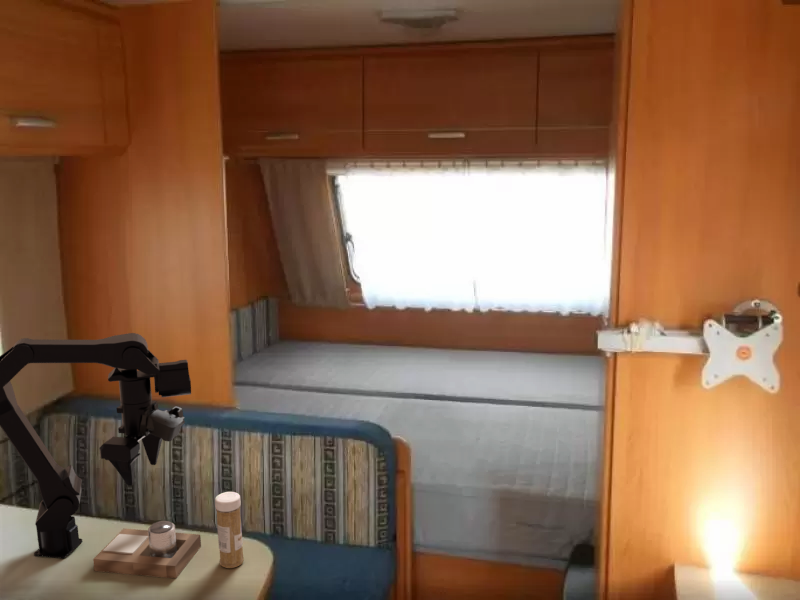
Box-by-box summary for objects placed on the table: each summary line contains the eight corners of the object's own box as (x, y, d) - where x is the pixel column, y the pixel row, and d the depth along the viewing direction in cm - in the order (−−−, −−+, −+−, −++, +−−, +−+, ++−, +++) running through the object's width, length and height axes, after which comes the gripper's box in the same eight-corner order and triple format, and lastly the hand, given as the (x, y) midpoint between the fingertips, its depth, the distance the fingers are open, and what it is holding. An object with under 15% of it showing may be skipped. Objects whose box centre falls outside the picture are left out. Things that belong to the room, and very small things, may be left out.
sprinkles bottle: (247, 564, 142) (244, 498, 139) (224, 572, 140) (220, 504, 137) (238, 553, 146) (234, 488, 143) (215, 560, 144) (211, 494, 141)
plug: (146, 565, 142) (143, 531, 141) (158, 551, 147) (155, 518, 145) (170, 567, 141) (167, 533, 140) (181, 553, 146) (179, 520, 144)
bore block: (94, 571, 140) (92, 557, 140) (124, 539, 151) (123, 527, 150) (176, 578, 138) (175, 564, 137) (201, 546, 149) (200, 533, 148)
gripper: (151, 420, 137) (157, 500, 140) (196, 386, 154) (200, 457, 158) (94, 416, 138) (101, 495, 142) (145, 383, 156) (150, 454, 160)
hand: (142, 474), depth 150 cm, fingers open, 9 cm apart
